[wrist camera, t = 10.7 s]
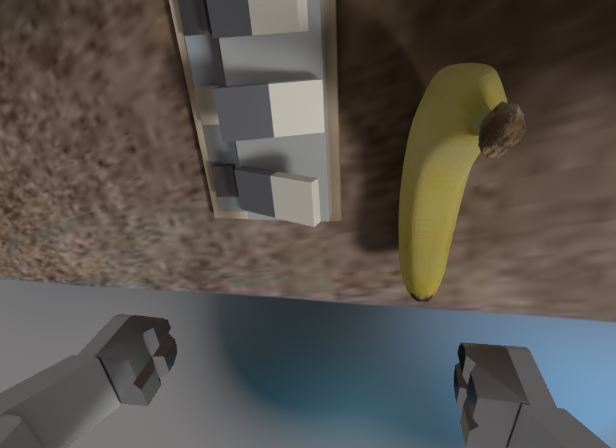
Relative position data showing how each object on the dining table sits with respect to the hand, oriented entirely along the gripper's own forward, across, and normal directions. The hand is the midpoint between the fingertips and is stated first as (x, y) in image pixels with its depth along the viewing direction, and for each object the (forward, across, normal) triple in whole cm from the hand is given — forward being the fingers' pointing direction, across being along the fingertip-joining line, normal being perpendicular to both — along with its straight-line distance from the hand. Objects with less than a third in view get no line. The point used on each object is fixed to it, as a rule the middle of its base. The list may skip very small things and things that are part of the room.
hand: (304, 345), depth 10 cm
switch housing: (+29, +7, -2) cm, 30 cm away
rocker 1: (+25, +7, -10) cm, 28 cm away
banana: (+29, -7, +6) cm, 31 cm away
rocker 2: (+26, +8, -2) cm, 27 cm away
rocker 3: (+26, +7, +6) cm, 27 cm away
